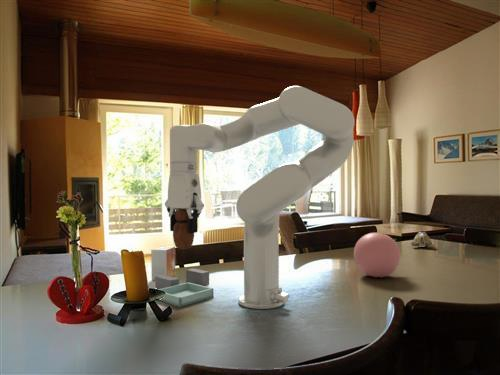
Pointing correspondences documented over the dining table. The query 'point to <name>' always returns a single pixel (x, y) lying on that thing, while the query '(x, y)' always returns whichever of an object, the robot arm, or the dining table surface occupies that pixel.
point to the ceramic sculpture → (422, 240)
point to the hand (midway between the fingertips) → (183, 231)
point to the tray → (186, 294)
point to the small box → (163, 261)
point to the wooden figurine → (182, 230)
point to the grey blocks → (191, 277)
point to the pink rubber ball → (376, 255)
